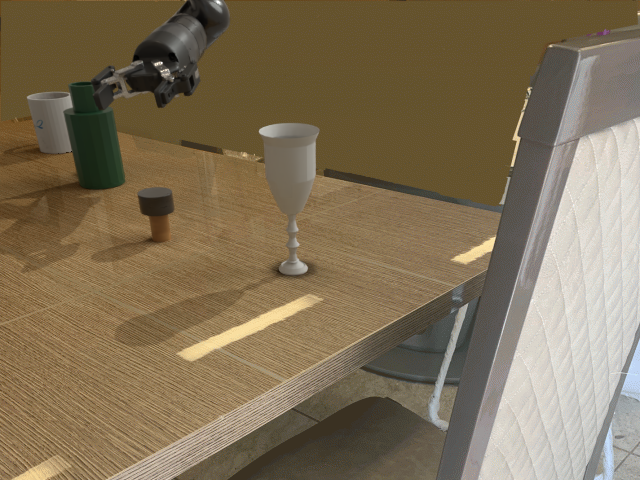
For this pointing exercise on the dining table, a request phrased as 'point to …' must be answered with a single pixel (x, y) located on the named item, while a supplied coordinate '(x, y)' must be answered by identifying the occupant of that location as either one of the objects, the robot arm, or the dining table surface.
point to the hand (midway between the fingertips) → (128, 101)
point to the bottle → (93, 140)
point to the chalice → (290, 177)
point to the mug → (50, 120)
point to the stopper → (157, 210)
